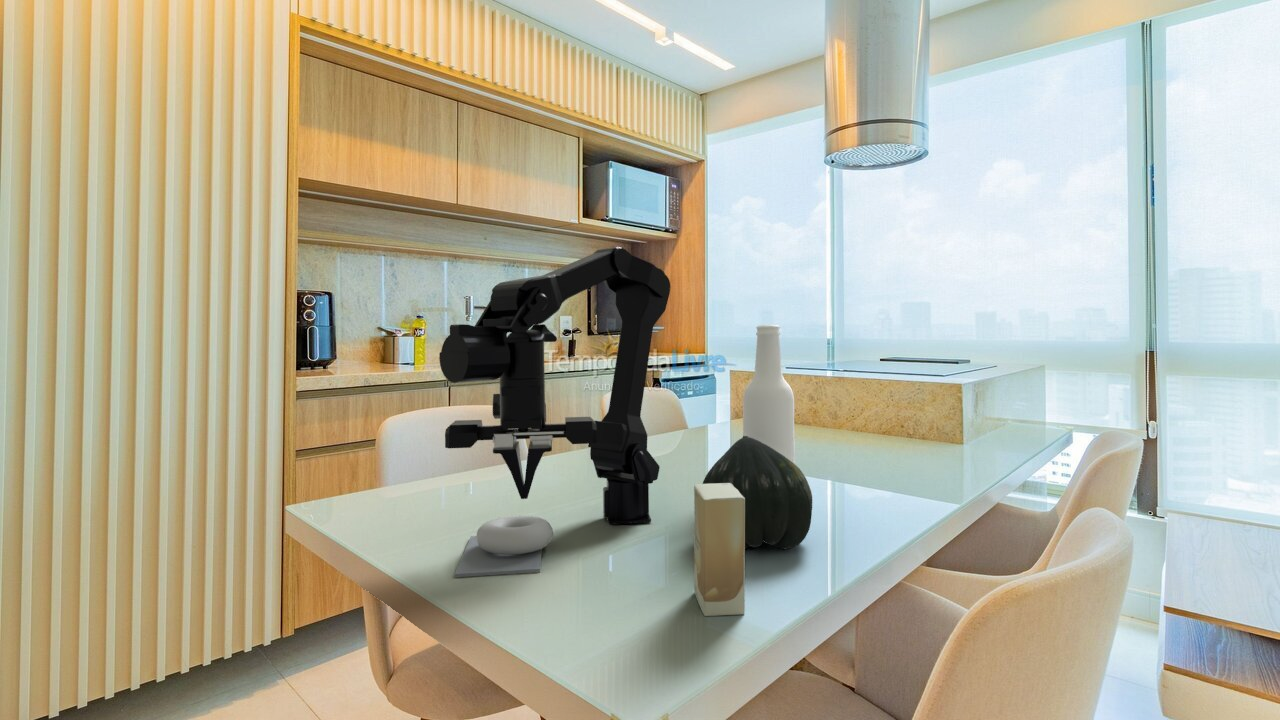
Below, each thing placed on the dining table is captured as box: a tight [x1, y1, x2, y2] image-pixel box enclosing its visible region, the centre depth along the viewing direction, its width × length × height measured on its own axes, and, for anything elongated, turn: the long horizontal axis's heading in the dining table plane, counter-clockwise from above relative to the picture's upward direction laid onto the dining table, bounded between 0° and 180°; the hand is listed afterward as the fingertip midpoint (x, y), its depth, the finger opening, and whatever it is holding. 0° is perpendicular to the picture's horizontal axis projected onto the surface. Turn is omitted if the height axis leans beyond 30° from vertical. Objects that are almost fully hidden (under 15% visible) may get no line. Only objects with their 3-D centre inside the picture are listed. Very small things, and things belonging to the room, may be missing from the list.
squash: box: [702, 435, 813, 550], centre depth 85 cm, size 14×15×15 cm
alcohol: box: [742, 324, 795, 464], centre depth 108 cm, size 9×9×30 cm
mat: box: [454, 535, 543, 578], centre depth 81 cm, size 10×14×1 cm
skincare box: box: [693, 483, 746, 617], centre depth 65 cm, size 6×4×12 cm
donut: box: [476, 515, 554, 555], centre depth 82 cm, size 10×4×10 cm
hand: (524, 498), depth 80 cm, fingers closed
